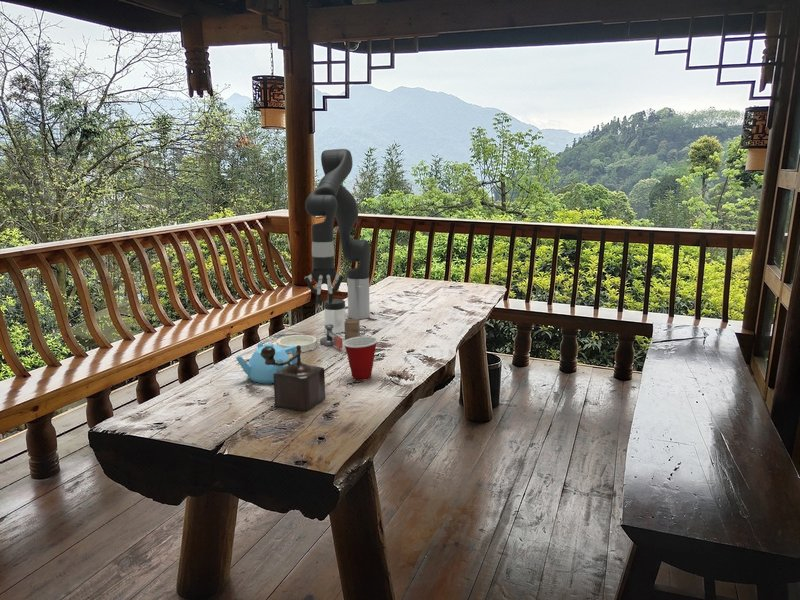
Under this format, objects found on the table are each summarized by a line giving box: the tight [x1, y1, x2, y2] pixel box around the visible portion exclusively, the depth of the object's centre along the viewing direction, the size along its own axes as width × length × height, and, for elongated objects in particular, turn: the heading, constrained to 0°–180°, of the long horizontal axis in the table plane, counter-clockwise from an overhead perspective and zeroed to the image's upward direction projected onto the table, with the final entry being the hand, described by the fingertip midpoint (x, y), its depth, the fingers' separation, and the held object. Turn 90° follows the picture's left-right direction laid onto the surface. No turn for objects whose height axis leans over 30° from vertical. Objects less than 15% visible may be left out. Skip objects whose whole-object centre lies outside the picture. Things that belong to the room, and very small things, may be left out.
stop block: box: [344, 318, 361, 341], centre depth 224 cm, size 5×5×7 cm
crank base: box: [319, 324, 335, 347], centre depth 218 cm, size 7×7×7 cm
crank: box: [329, 332, 344, 350], centre depth 213 cm, size 10×2×4 cm, turn 27°
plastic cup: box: [343, 335, 379, 381], centre depth 183 cm, size 11×11×12 cm
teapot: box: [235, 342, 302, 385], centre depth 183 cm, size 15×15×11 cm
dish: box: [276, 334, 318, 354], centre depth 214 cm, size 14×14×3 cm
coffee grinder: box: [260, 345, 326, 413], centre depth 161 cm, size 16×11×18 cm
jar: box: [323, 298, 346, 335], centre depth 234 cm, size 9×8×12 cm
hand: (324, 304), depth 206 cm, fingers closed
